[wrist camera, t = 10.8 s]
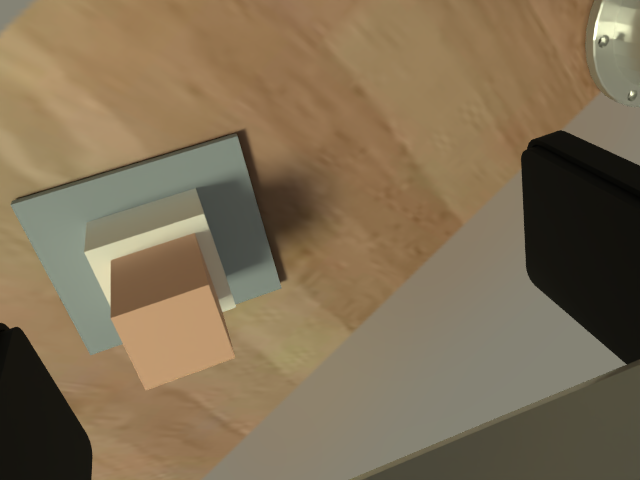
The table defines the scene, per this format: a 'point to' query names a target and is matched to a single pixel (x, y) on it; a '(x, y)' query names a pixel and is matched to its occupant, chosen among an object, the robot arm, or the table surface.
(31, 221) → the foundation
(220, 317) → the terracotta block
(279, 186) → the table surface
